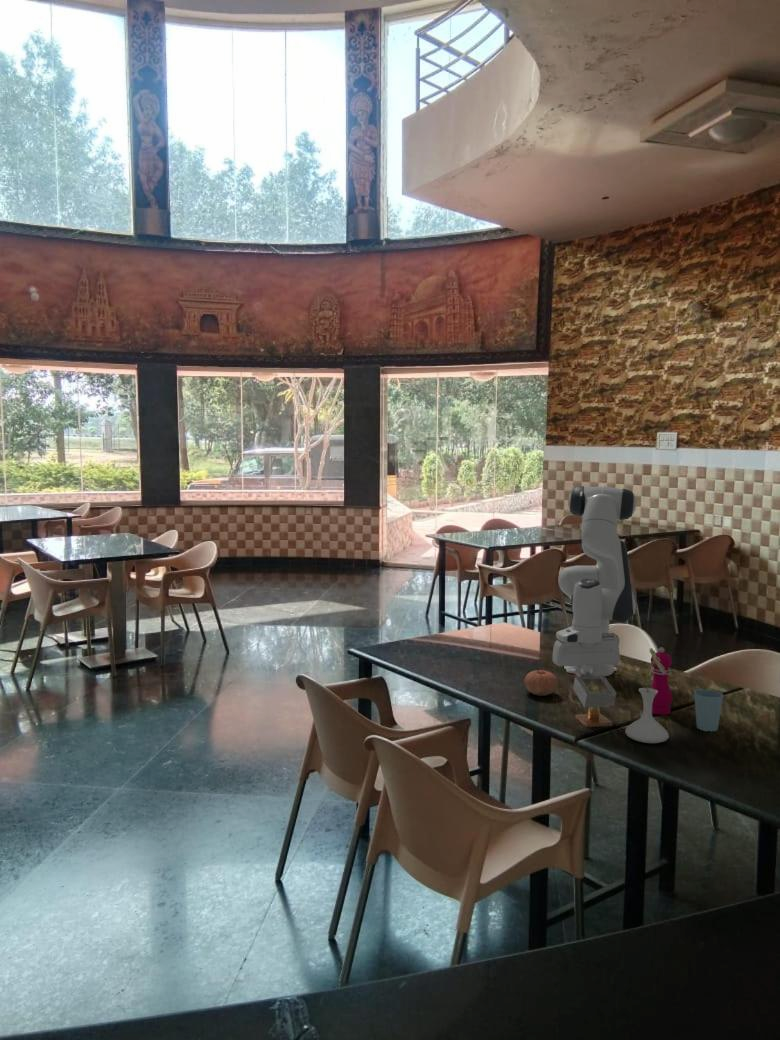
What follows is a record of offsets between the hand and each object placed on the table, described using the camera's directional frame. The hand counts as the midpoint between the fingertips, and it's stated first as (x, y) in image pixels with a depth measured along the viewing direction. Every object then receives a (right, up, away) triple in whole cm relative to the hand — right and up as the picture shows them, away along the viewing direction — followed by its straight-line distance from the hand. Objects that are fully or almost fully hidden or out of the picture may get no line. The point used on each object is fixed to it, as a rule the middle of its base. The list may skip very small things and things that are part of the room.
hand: (585, 679), depth 228 cm
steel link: (0, -3, -2) cm, 3 cm away
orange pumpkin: (-9, -10, +21) cm, 25 cm away
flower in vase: (+12, -13, -19) cm, 26 cm away
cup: (+32, -12, -11) cm, 36 cm away
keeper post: (+1, -11, -5) cm, 13 cm away
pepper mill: (+24, -11, +4) cm, 26 cm away
